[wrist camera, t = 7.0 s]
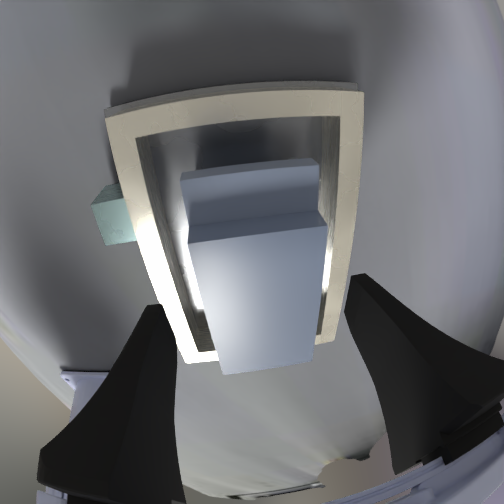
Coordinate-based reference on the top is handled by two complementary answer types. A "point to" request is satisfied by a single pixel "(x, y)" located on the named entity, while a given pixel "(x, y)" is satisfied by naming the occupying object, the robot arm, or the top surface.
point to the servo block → (258, 259)
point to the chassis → (226, 154)
